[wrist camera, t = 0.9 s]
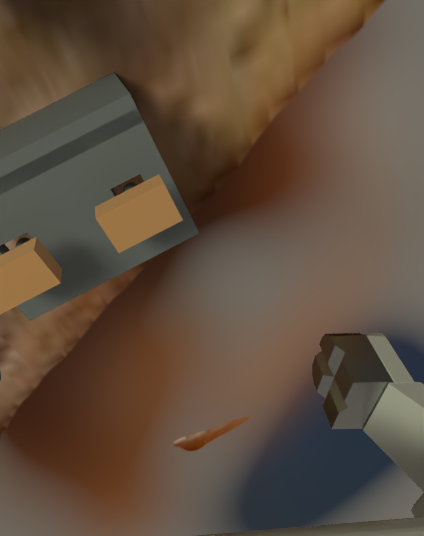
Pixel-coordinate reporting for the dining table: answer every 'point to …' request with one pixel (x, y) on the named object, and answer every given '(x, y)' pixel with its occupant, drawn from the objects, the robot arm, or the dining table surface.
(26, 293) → the tan cardboard-like brick
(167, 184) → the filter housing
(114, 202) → the tan rectangular block
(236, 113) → the dining table surface
